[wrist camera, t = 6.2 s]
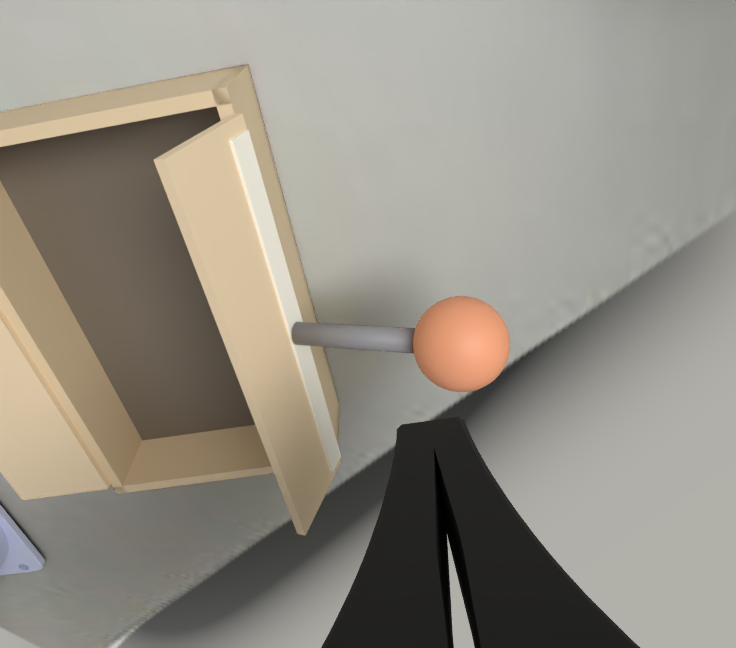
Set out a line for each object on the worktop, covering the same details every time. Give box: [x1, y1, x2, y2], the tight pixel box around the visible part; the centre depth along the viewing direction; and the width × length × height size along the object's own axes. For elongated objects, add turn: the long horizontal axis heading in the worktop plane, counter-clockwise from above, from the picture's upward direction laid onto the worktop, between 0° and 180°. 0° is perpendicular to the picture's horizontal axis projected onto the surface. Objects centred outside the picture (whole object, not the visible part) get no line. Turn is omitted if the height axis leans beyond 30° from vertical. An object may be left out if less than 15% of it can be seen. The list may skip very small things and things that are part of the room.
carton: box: [0, 64, 340, 500], centre depth 20 cm, size 13×14×4 cm
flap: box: [154, 113, 510, 535], centre depth 16 cm, size 4×13×7 cm
